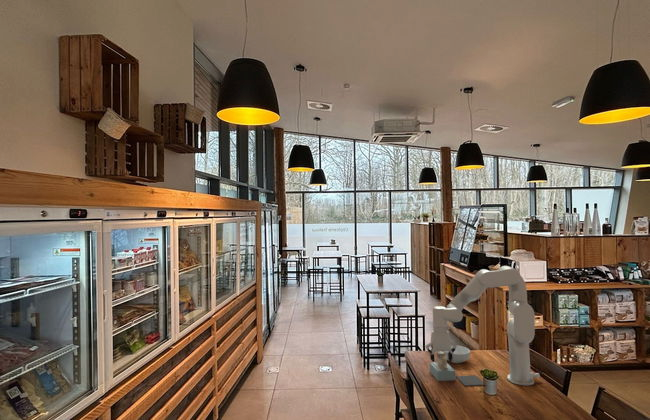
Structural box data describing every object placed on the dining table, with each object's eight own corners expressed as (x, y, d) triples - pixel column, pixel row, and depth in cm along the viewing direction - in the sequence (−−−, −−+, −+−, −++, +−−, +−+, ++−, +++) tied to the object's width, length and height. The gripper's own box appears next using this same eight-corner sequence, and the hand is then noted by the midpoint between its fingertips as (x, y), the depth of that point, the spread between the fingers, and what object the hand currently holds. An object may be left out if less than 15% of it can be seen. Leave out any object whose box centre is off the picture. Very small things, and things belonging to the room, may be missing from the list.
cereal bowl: (472, 367, 204) (471, 355, 204) (442, 365, 208) (441, 353, 208) (468, 356, 220) (468, 345, 221) (440, 354, 225) (440, 343, 225)
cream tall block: (443, 373, 197) (442, 351, 197) (447, 378, 190) (446, 355, 191) (437, 373, 197) (436, 351, 197) (441, 378, 190) (440, 356, 191)
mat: (475, 376, 192) (475, 375, 192) (485, 385, 181) (485, 384, 181) (455, 377, 191) (455, 376, 191) (464, 386, 180) (464, 385, 180)
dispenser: (446, 371, 200) (446, 360, 200) (455, 380, 188) (454, 369, 188) (430, 371, 199) (429, 361, 199) (437, 381, 187) (437, 370, 188)
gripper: (453, 326, 199) (454, 357, 198) (422, 327, 198) (423, 358, 197) (458, 330, 191) (459, 362, 191) (427, 331, 190) (428, 364, 190)
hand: (441, 360), depth 194 cm, fingers open, 9 cm apart
